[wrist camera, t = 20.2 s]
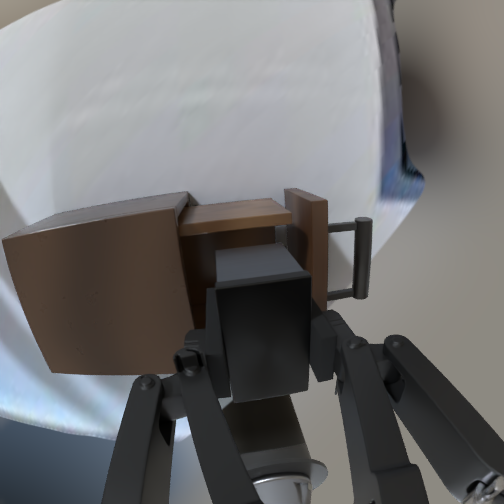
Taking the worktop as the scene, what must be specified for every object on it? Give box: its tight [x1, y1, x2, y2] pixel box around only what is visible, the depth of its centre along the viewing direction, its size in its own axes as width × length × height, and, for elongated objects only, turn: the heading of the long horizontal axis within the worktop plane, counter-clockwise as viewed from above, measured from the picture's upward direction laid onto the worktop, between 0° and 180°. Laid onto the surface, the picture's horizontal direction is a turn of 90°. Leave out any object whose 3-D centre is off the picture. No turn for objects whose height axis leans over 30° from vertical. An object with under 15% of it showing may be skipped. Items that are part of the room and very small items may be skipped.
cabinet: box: [2, 191, 197, 375], centre depth 23 cm, size 15×13×10 cm
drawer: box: [177, 188, 373, 329], centre depth 24 cm, size 18×11×8 cm, turn 95°
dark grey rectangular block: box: [214, 243, 312, 403], centre depth 16 cm, size 4×7×5 cm, turn 5°
